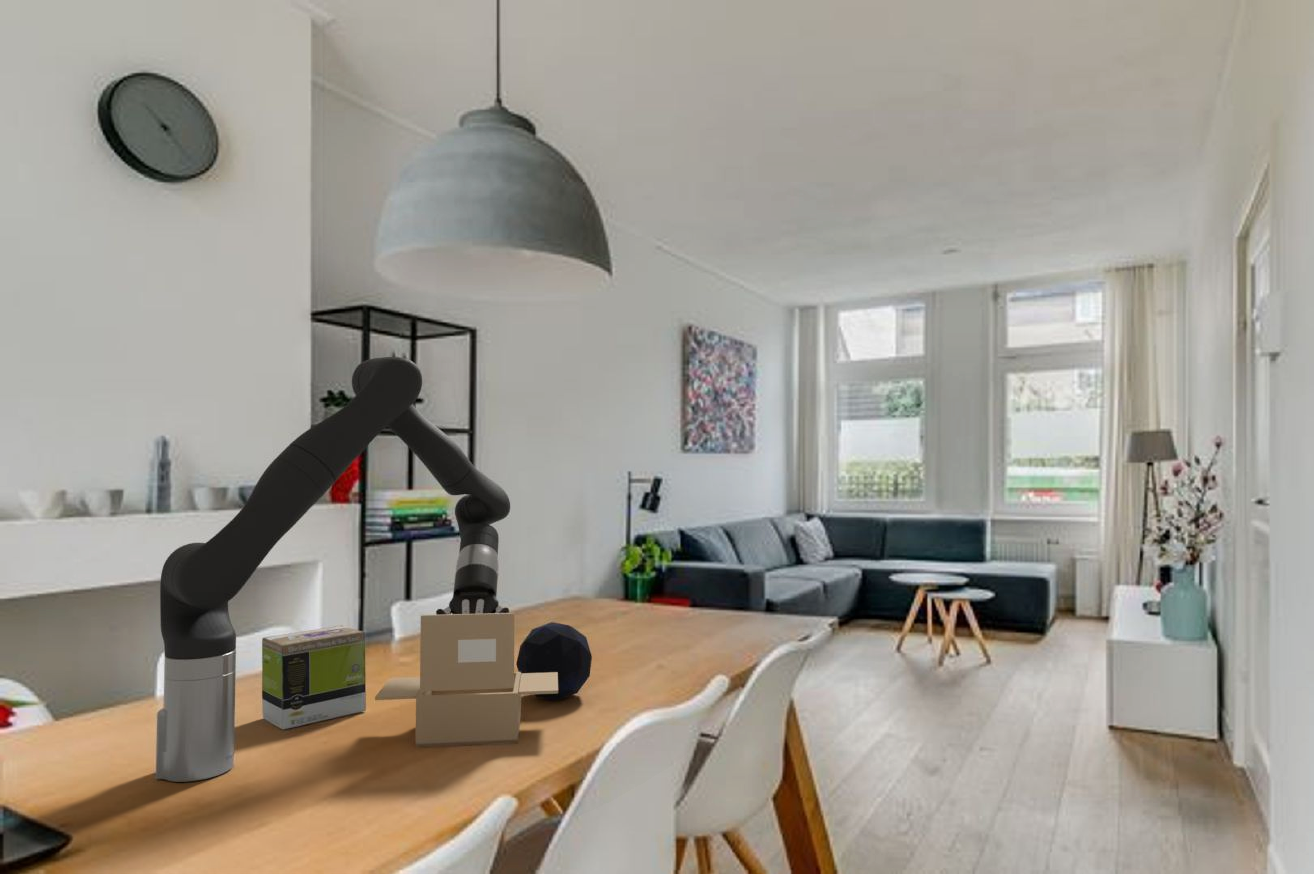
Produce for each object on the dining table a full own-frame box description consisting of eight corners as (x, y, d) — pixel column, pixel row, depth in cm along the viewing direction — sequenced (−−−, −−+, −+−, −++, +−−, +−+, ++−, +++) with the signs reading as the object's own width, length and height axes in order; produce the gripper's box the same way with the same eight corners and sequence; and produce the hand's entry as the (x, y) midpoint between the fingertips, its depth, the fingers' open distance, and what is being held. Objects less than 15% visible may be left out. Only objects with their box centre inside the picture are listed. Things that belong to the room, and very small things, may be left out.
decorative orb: (507, 660, 165) (515, 608, 157) (578, 654, 170) (590, 604, 162) (516, 720, 154) (526, 667, 146) (593, 711, 159) (606, 660, 151)
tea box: (343, 701, 155) (344, 623, 156) (366, 712, 148) (367, 631, 149) (260, 718, 145) (261, 634, 145) (280, 731, 138) (282, 643, 138)
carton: (373, 749, 128) (373, 698, 129) (391, 721, 143) (391, 675, 143) (558, 741, 132) (558, 691, 132) (557, 714, 147) (557, 669, 147)
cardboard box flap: (419, 691, 130) (420, 615, 130) (420, 690, 130) (421, 614, 131) (513, 688, 132) (514, 613, 132) (514, 687, 132) (514, 612, 133)
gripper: (437, 562, 144) (425, 647, 131) (513, 561, 145) (509, 645, 133) (440, 588, 149) (430, 673, 136) (514, 587, 150) (510, 670, 138)
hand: (469, 659), depth 134 cm, fingers closed
